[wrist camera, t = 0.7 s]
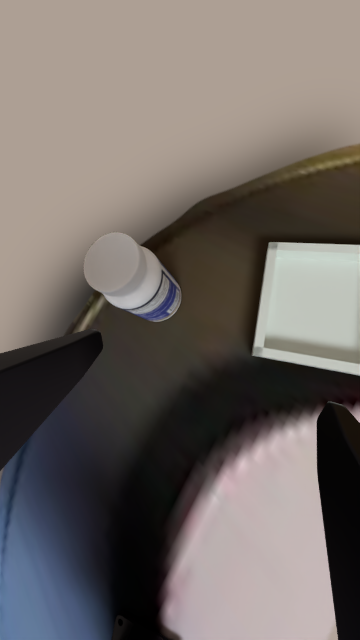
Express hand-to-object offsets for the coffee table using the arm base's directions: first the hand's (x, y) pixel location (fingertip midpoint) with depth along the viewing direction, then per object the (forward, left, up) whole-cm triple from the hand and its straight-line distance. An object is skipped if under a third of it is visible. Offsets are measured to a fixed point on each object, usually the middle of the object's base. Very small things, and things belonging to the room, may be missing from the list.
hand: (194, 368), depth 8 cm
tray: (+7, -8, -14) cm, 17 cm away
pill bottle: (+6, +8, -14) cm, 17 cm away
